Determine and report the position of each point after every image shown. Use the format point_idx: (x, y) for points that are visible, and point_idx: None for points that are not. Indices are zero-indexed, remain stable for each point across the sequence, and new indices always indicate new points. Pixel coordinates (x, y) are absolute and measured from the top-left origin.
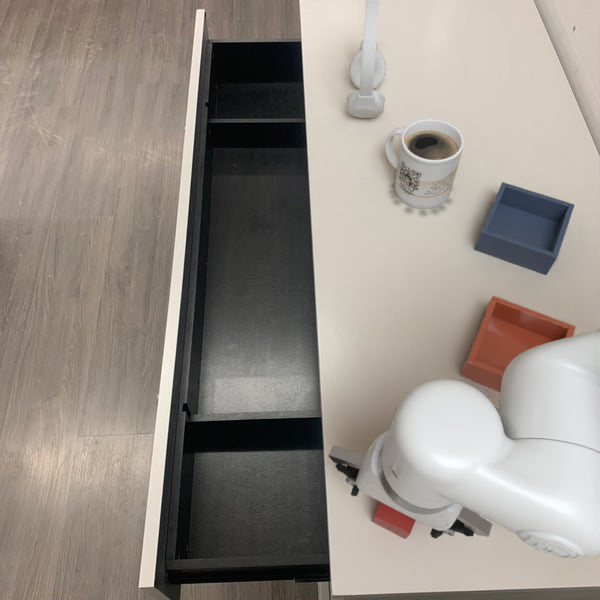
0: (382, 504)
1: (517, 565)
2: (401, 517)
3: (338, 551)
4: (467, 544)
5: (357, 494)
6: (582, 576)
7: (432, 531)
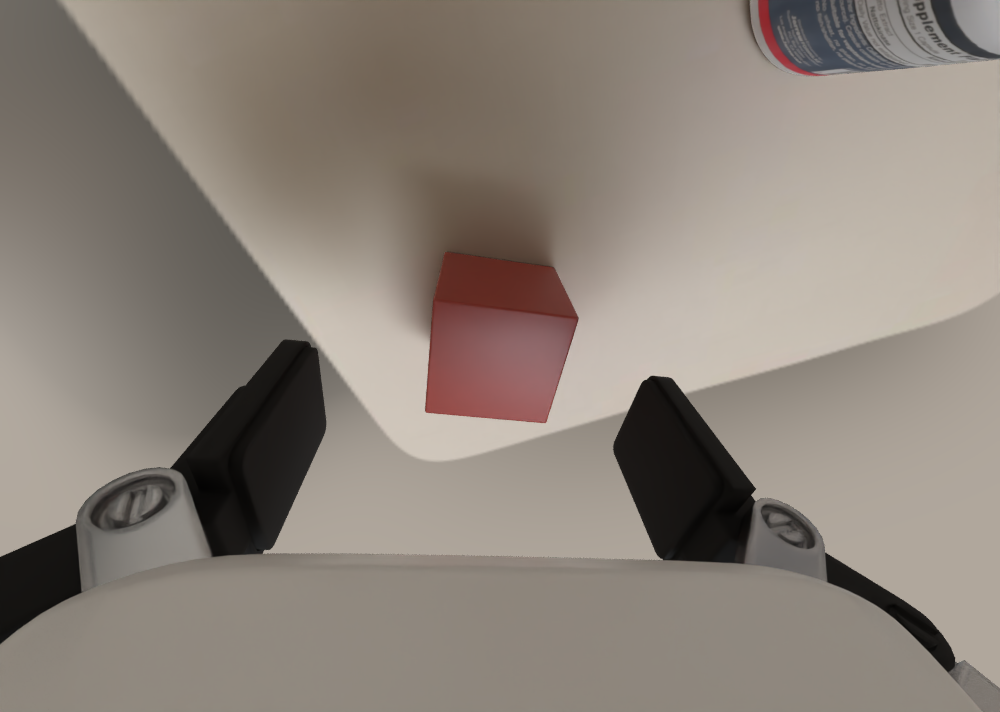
0: (437, 379)
1: (813, 327)
2: (510, 393)
3: (385, 421)
4: (692, 321)
5: (321, 433)
6: (977, 302)
7: (627, 474)
